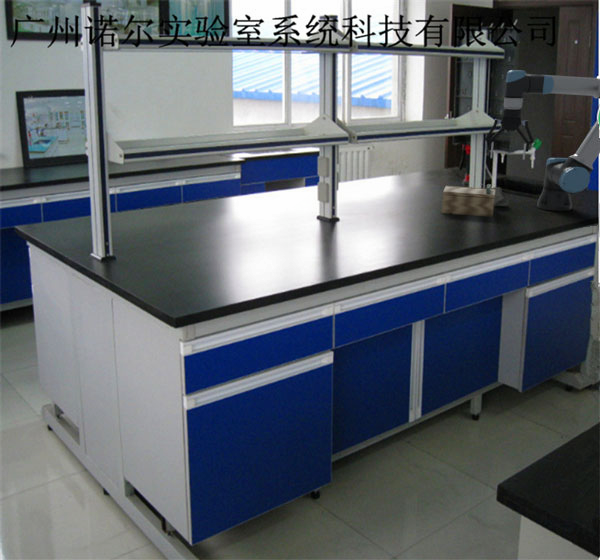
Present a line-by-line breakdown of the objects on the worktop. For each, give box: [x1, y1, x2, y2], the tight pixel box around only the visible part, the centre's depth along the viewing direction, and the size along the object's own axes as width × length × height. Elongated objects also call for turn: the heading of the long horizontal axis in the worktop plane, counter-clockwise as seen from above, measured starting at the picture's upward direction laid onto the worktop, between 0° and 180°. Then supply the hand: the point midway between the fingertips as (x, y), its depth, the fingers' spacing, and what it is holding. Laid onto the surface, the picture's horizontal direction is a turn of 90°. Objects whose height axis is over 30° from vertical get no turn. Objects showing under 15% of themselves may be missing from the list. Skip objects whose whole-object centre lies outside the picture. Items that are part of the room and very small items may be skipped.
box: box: [441, 185, 495, 218], centre depth 319 cm, size 22×14×10 cm, turn 74°
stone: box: [490, 186, 510, 207], centre depth 331 cm, size 10×10×10 cm
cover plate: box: [443, 183, 495, 195], centre depth 317 cm, size 22×12×4 cm, turn 74°
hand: (507, 158), depth 309 cm, fingers open, 13 cm apart
